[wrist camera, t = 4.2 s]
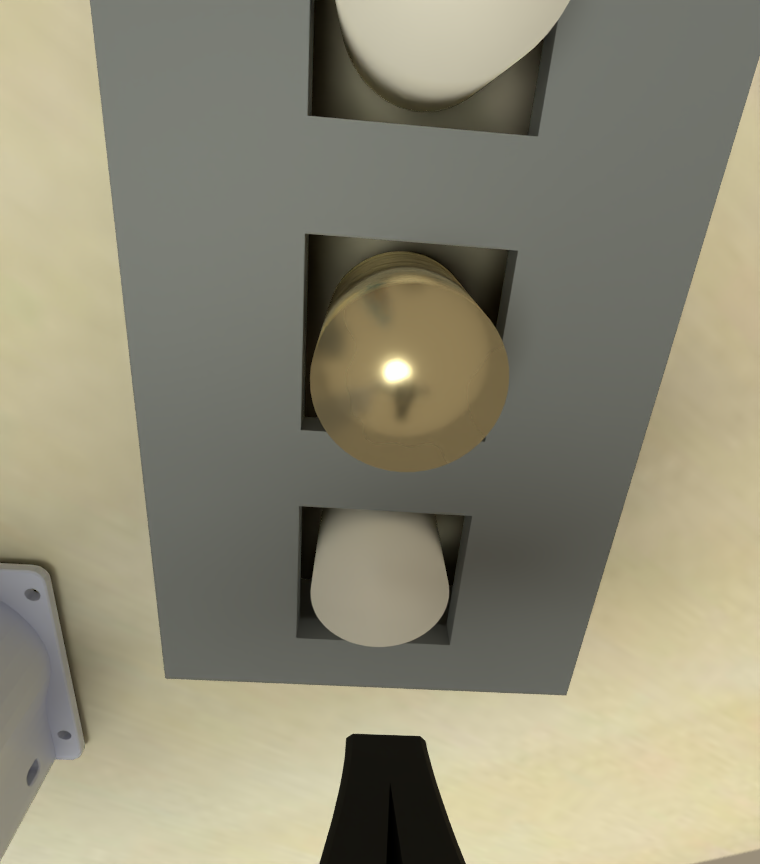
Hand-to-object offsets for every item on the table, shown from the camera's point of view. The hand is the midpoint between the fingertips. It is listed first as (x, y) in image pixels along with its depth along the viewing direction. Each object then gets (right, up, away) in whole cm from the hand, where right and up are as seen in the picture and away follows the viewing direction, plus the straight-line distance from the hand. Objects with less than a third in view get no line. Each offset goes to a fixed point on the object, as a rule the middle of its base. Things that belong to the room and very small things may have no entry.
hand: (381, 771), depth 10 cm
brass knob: (0, +9, +4) cm, 10 cm away
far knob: (0, +4, +8) cm, 9 cm away
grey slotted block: (0, +10, +6) cm, 11 cm away
